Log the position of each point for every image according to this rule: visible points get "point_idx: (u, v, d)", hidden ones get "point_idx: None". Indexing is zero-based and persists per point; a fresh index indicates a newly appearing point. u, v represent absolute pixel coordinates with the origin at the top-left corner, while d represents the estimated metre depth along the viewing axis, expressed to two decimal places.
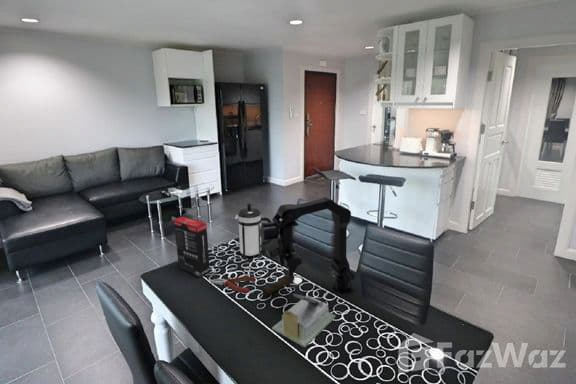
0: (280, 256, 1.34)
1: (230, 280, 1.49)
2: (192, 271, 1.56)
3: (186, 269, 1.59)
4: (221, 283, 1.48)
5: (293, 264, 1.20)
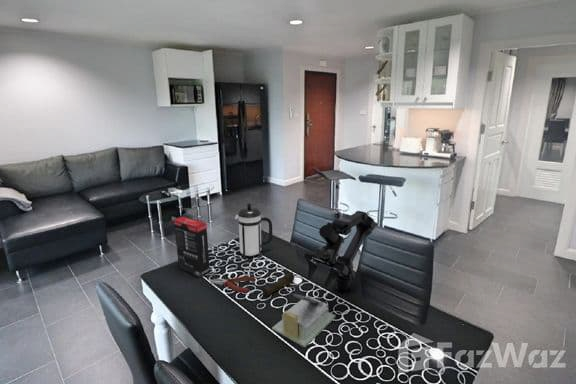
0: (312, 268, 1.28)
1: (230, 280, 1.49)
2: (192, 271, 1.56)
3: (186, 269, 1.59)
4: (221, 283, 1.48)
5: (344, 271, 1.21)
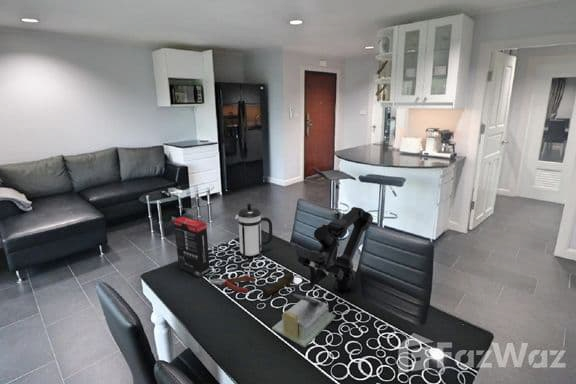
0: (314, 274, 1.22)
1: (229, 280, 1.49)
2: (192, 271, 1.56)
3: (186, 269, 1.59)
4: (220, 283, 1.48)
5: (339, 275, 1.17)
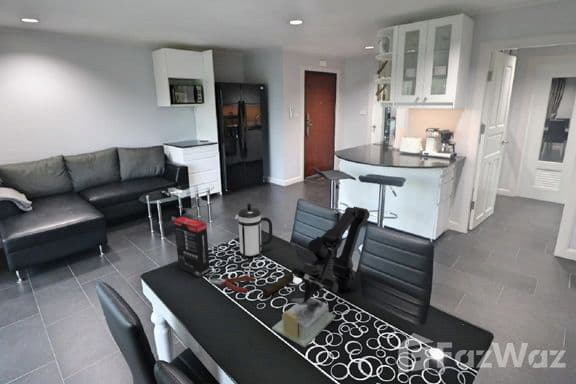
0: (308, 287, 1.20)
1: (228, 280, 1.49)
2: (192, 271, 1.56)
3: (186, 269, 1.59)
4: (219, 283, 1.48)
5: (334, 288, 1.16)
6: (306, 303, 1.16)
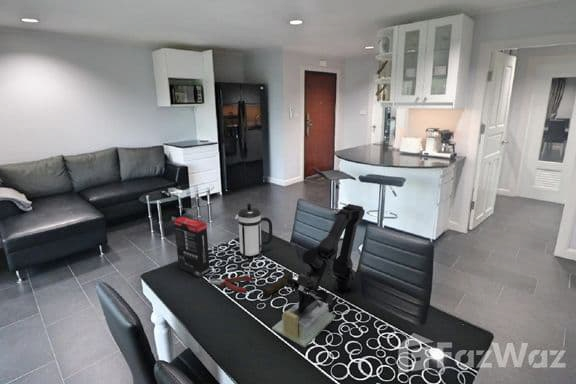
0: (303, 299, 1.19)
1: (228, 280, 1.49)
2: (192, 271, 1.56)
3: (186, 269, 1.59)
4: (219, 283, 1.48)
5: (328, 300, 1.14)
6: (304, 315, 1.17)
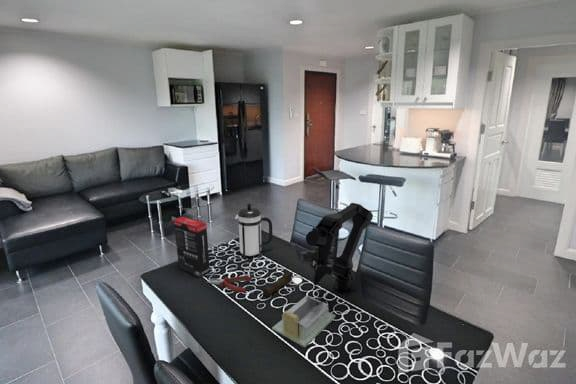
0: None
1: (227, 280, 1.49)
2: (192, 271, 1.56)
3: (186, 269, 1.59)
4: (218, 283, 1.48)
5: (323, 271, 1.18)
6: (304, 315, 1.17)
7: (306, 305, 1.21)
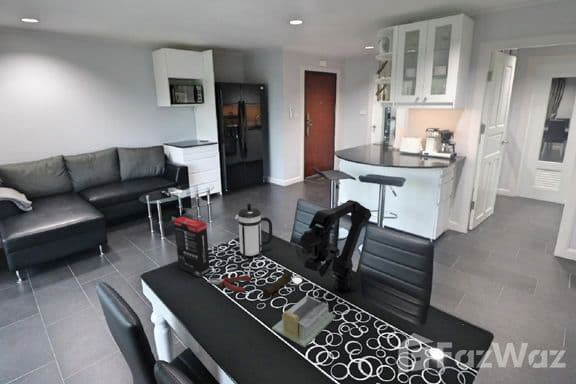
0: None
1: (226, 280, 1.49)
2: (192, 271, 1.56)
3: (186, 269, 1.59)
4: (217, 283, 1.48)
5: (308, 267, 1.23)
6: (304, 315, 1.17)
7: (306, 305, 1.21)
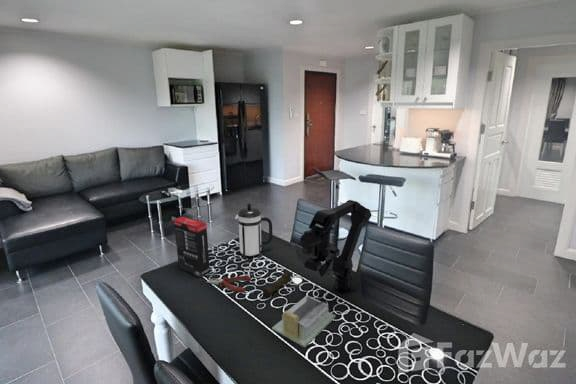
0: None
1: (226, 280, 1.49)
2: (192, 271, 1.56)
3: (186, 269, 1.59)
4: (217, 283, 1.48)
5: (308, 267, 1.23)
6: (304, 315, 1.17)
7: (306, 305, 1.21)
